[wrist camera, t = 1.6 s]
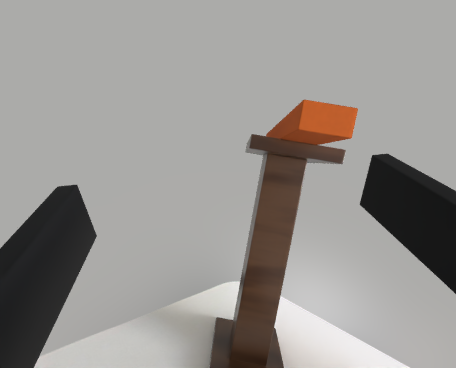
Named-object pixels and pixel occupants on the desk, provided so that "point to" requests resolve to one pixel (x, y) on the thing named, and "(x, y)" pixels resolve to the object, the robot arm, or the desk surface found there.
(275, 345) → the stand
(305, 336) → the desk surface
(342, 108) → the orange long flat bar
